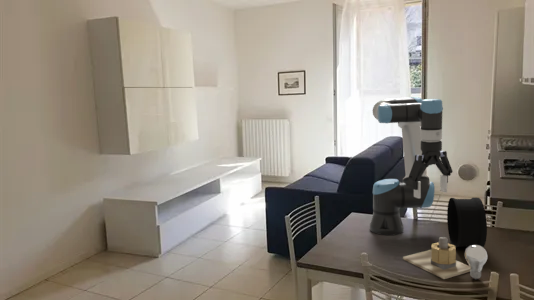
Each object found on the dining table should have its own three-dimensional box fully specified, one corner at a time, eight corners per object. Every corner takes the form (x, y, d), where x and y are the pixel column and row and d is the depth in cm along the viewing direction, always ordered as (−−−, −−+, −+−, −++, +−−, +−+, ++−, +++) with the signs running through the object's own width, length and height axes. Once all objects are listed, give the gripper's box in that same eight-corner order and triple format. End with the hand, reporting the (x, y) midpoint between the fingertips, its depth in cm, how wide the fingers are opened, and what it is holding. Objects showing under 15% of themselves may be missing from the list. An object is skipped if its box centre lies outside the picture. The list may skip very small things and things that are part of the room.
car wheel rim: (486, 256, 161) (487, 205, 158) (458, 255, 163) (458, 205, 160) (472, 237, 180) (472, 192, 178) (447, 237, 182) (447, 192, 180)
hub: (426, 258, 155) (426, 245, 154) (442, 253, 158) (442, 241, 157) (443, 266, 147) (443, 252, 147) (460, 261, 150) (460, 247, 150)
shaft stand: (403, 259, 162) (402, 231, 160) (430, 252, 168) (430, 225, 166) (444, 279, 144) (444, 248, 142) (473, 270, 149) (473, 240, 148)
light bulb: (462, 273, 147) (463, 240, 146) (484, 275, 145) (485, 242, 143) (465, 282, 141) (466, 248, 139) (489, 284, 139) (489, 249, 137)
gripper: (413, 145, 150) (412, 202, 154) (463, 137, 160) (461, 191, 164) (398, 143, 157) (398, 197, 161) (447, 135, 167) (446, 187, 171)
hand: (430, 194), depth 163 cm, fingers open, 13 cm apart
